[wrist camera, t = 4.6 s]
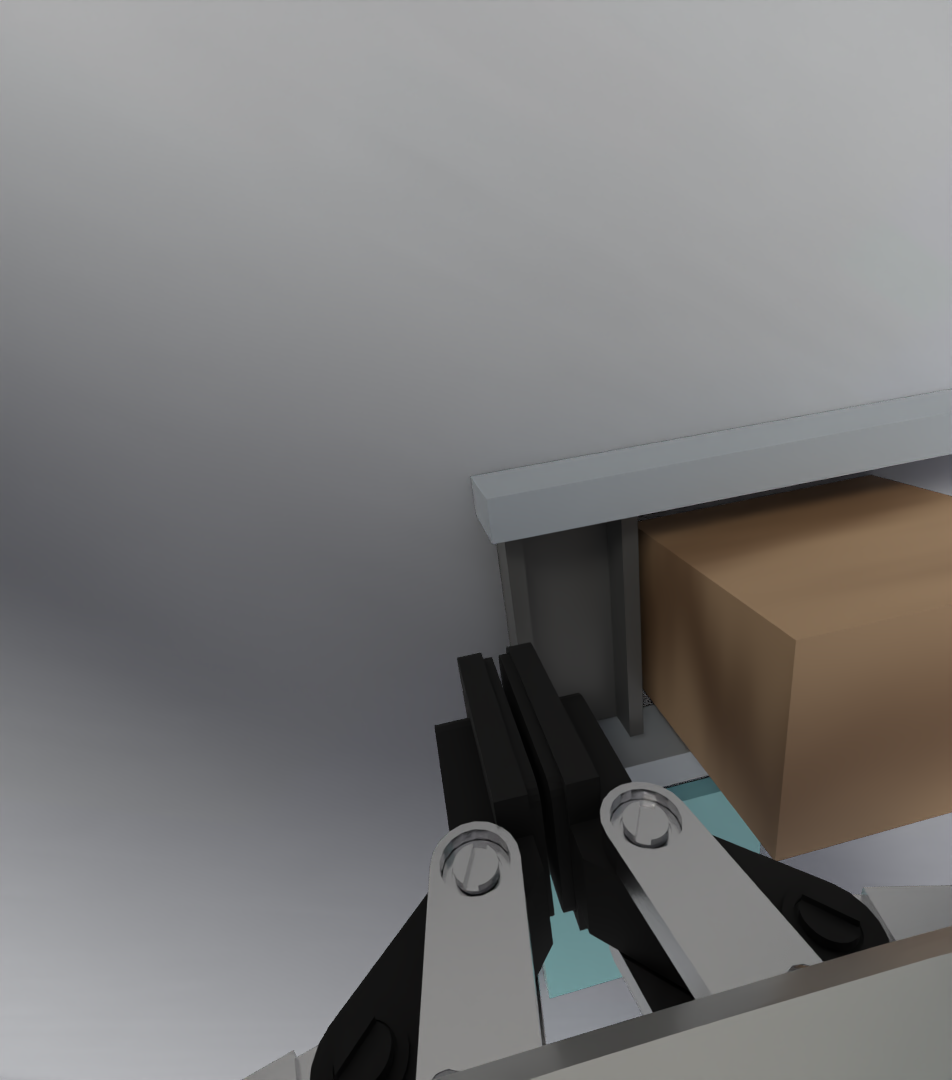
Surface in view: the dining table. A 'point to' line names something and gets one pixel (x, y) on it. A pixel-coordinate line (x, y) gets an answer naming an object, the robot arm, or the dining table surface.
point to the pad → (590, 959)
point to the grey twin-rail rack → (613, 556)
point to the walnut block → (808, 655)
